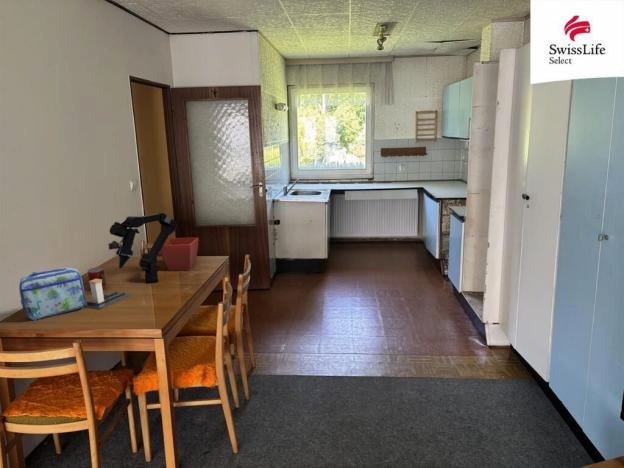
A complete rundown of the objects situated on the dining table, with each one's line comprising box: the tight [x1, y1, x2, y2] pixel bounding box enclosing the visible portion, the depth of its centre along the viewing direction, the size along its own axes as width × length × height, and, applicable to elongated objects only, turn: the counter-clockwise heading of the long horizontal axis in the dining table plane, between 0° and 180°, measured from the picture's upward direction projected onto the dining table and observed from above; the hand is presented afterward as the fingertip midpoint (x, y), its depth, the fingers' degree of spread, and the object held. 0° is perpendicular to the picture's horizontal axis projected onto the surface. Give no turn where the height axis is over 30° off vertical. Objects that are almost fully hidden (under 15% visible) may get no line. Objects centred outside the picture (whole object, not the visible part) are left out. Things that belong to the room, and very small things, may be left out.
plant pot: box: [159, 237, 199, 272], centre depth 285 cm, size 19×19×17 cm
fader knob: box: [88, 279, 104, 303], centre depth 228 cm, size 4×4×11 cm
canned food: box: [87, 266, 107, 291], centre depth 253 cm, size 8×8×11 cm
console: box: [83, 290, 133, 310], centre depth 234 cm, size 20×12×3 cm, turn 156°
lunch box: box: [18, 267, 87, 321], centre depth 219 cm, size 26×11×21 cm, turn 123°
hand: (119, 268), depth 243 cm, fingers closed
